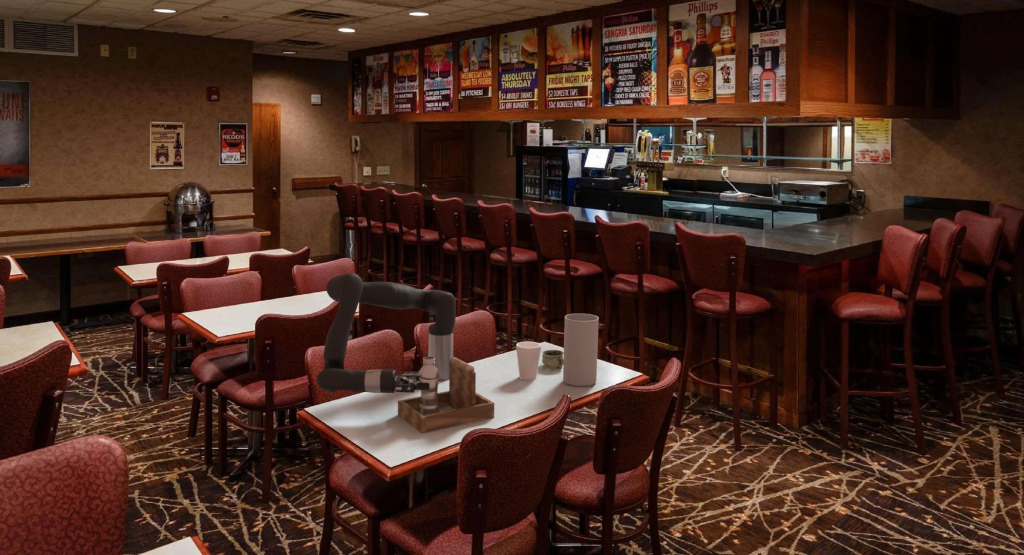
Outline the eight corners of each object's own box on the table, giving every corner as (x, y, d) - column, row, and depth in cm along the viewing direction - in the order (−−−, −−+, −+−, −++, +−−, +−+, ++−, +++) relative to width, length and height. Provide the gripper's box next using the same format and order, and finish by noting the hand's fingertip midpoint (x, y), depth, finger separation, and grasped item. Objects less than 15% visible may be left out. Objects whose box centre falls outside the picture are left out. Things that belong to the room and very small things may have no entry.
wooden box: (397, 415, 246) (397, 363, 243) (467, 401, 260) (467, 351, 257) (422, 433, 231) (421, 378, 228) (494, 417, 245) (494, 365, 242)
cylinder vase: (562, 376, 289) (564, 313, 285) (594, 377, 289) (597, 313, 284) (563, 386, 277) (565, 320, 272) (597, 387, 277) (600, 321, 272)
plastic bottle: (436, 421, 241) (436, 361, 237) (416, 419, 242) (415, 360, 239) (442, 414, 247) (442, 356, 244) (422, 412, 248) (422, 354, 245)
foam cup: (512, 379, 284) (512, 346, 282) (520, 372, 293) (520, 340, 290) (535, 382, 281) (536, 349, 279) (543, 375, 290) (544, 343, 287)
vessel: (571, 369, 299) (571, 353, 298) (555, 373, 293) (555, 357, 292) (550, 362, 308) (550, 347, 307) (534, 366, 302) (534, 351, 301)
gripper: (376, 377, 235) (428, 377, 235) (384, 363, 249) (433, 364, 249) (376, 399, 236) (428, 400, 236) (384, 385, 250) (433, 385, 250)
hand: (430, 382), depth 243 cm, fingers open, 8 cm apart
